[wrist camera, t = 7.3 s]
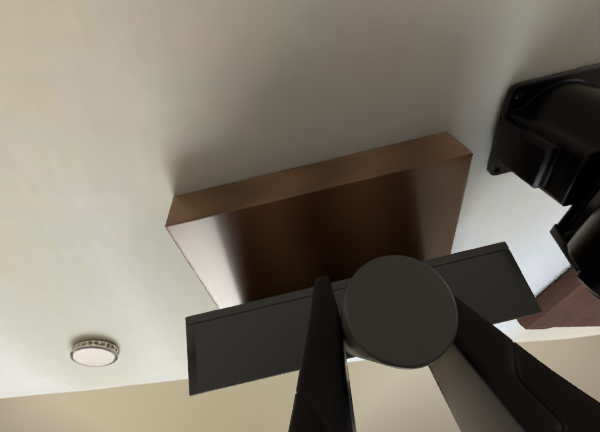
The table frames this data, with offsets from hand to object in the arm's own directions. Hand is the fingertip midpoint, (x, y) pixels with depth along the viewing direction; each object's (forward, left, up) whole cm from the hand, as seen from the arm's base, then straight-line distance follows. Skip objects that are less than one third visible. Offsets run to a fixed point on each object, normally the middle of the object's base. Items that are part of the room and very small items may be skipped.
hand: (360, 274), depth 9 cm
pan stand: (0, +9, -12) cm, 15 cm away
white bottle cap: (+24, +18, -12) cm, 32 cm away
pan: (0, +6, -4) cm, 7 cm away
